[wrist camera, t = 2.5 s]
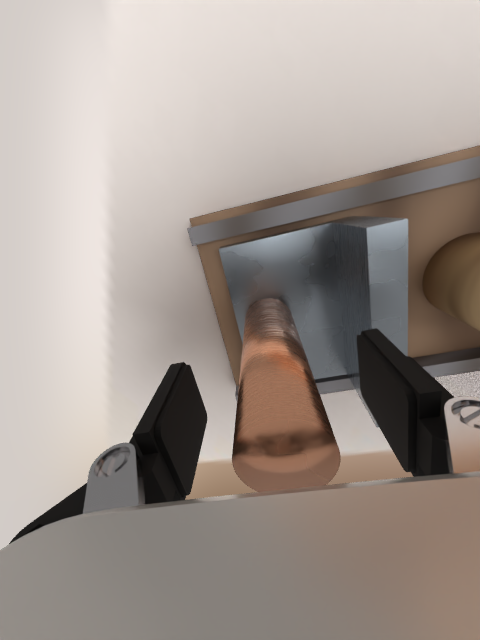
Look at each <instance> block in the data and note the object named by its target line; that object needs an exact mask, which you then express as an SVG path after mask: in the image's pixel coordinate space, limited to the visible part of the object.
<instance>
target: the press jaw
mask: <svg viewBox="0 0 480 640" xmlns="http://www.w3.org/2000/svg"><path fill="white" fill-rule="evenodd" d="M219 253H220V257H221V261H222V265H223V269H224V273H225V277H226V281H227V285H228V289H229V293H230V296H231V300H232V304H233V308H234V312H235V316H236V320H237V324H238V328H239V332H240V336H241V340H242V344H243V347H242V358H241V368H240V379H239V390H238V400H237V411H236V422H235V432H234V443H233V454H232V463H233V467H234V470H235V472H236V474H237V475H238V477H239V478H240V479H241V480H242V481H243V482H244V483H245V484H246V485H247V486H249V487H250V488H252V489H254V490H255V491H258V492H265V491H275V490H285V489H295V488H304V487H314V486H324V485H326V484H328V483H329V482H330V481H331V480H332V479H333V477H334V476H335V475H336V473H337V471H338V468H339V466H340V452H339V448H338V445H337V442H336V440H335V437H334V434H333V431H332V428H331V425H330V422H329V420H328V417H327V414H326V411H325V408H324V405H323V402H322V400H321V397H320V394H319V391H318V388H317V385H316V382H315V380H314V379H320V378H327V377H333V376H339V375H346V374H347V375H348V377H349V379H350V381H351V382H352V384H353V386H354V388H355V389H356V391H357V393H358V395H359V397H360V398H361V400H362V402H363V404H364V406H365V407H366V409H367V411H368V413H369V414H370V416H371V418H372V420H373V422H374V423H375V425H376V427H379V426H378V424H377V422H376V420H375V419H374V417H373V415H372V413H371V412H370V410H369V408H368V406H367V405H366V403H365V401H364V399H363V397H362V395H361V390H360V378H359V365H358V352H357V335H361V331H364V330H369V329H375V328H377V329H378V330H380V331H381V332H382V333H383V334H384V335H385V336H386V337H387V338H388V339H389V340H390V341H391V342H392V343H393V344H394V345H395V346H396V347H397V348H398V349H399V350H400V351H401V352H402V353H403V354H404V355H405V356H408V219H406V218H387V217H369V216H350V217H346V218H341V219H337V220H333V221H328V222H324V223H320V224H316V225H311V226H307V227H303V228H299V229H294V230H290V231H286V232H281V233H277V234H273V235H269V236H264V237H260V238H256V239H251V240H247V241H243V242H239V243H234V244H230V245H226V246H221V247H220V248H219Z"/></svg>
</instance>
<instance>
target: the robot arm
mask: <svg viewBox="0 0 480 640" xmlns="http://www.w3.org/2000/svg"><path fill="white" fill-rule="evenodd" d="M357 352H358V365H359V378H360V390H361V395H362V397H363V399H364V401H365V403H366V405H367V406H368V408H369V410H370V412H371V413H372V415H373V417H374V419H375V420H376V422H377V424H378V426H379V427H380V429H381V431H382V433H383V434H384V436H385V438H386V440H387V441H388V443H389V445H390V447H391V448H392V450H393V452H394V454H395V455H396V457H397V459H398V460H399V462H400V464H401V466H402V467H403V469H404V470H405V471H406V472H411V473H412V475H413V476H414V477H406V478H396V479H386V480H376V481H365V482H355V483H345V484H335V485H324V486H314V487H304V488H295V489H285V490H275V491H265V492H256V493H246V494H237V495H228V496H218V497H209V498H200V499H191V500H185V498H186V495H189V494H190V492H191V488H192V484H193V480H194V476H195V471H196V467H197V462H198V458H199V454H200V449H201V445H202V441H203V436H204V432H205V428H206V423H207V413H206V410H205V407H204V404H203V401H202V398H201V395H200V392H199V389H198V387H197V384H196V381H195V378H194V375H193V372H192V369H191V367H190V365H186V364H185V363H184V362H182V363H177V364H171V365H170V367H169V369H168V371H167V373H166V374H165V376H164V378H163V380H162V382H161V384H160V385H159V387H158V389H157V391H156V393H155V395H154V396H153V398H152V400H151V402H150V404H149V406H148V407H147V409H146V411H145V413H144V415H143V416H142V418H141V420H140V422H139V424H138V426H137V427H136V429H135V431H134V433H133V437H132V438H131V440H130V442H129V443H120V444H117V445H114V446H112V447H111V448H109V449H107V450H106V451H104V452H103V453H102V454H101V455H100V456H99V457H98V458H97V459H96V460H95V461H94V463H93V464H92V466H91V468H90V471H89V476H88V482H87V483H86V484H85V485H83V486H82V487H80V488H79V489H78V490H76V491H75V492H73V493H72V494H71V495H69V496H68V497H66V498H65V499H64V500H62V501H61V502H60V503H58V504H57V505H55V506H54V507H52V508H51V509H50V510H48V511H47V512H45V513H44V514H43V515H41V516H40V517H38V518H37V519H36V520H34V521H33V522H31V523H30V524H29V525H27V526H26V527H25V528H24V529H22V530H21V531H20V532H19V533H18V534H17V535H16V537H14V538H13V539H12V541H11V542H10V543H9V545H7V546H6V547H4V548H3V549H1V550H0V640H480V398H478V397H472V396H461V397H453V396H452V395H451V394H450V393H449V392H448V391H447V390H446V389H445V388H444V387H443V386H442V385H441V384H440V383H439V382H437V381H436V380H435V379H434V378H433V377H432V376H431V375H430V374H429V373H428V372H427V371H426V370H425V369H424V368H423V367H422V366H420V365H419V364H418V363H417V362H416V361H415V360H414V359H413V358H412V357H410V356H405V355H404V354H403V353H402V352H401V351H400V350H399V349H398V348H397V347H396V346H395V345H394V344H393V343H392V342H391V341H390V340H389V339H388V338H387V337H386V336H385V335H384V334H383V333H382V332H381V331H380V330H378V329H377V328H375V329H369V330H364V331H361V335H357Z"/></svg>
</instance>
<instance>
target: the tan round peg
mask: <svg viewBox="0 0 480 640" xmlns="http://www.w3.org/2000/svg"><path fill="white" fill-rule="evenodd" d="M422 283H423V291H424V294H425V297H426V298H427V300H428V301H429V302H430V303H431V304H432V305H433V306H434V307H436V308H438V309H440V310H442V311H443V312H445V313H447V314H449V315H451V316H453V317H455V318H456V319H458V320H460V321H462V322H464V323H466V324H468V325H469V326H471V327H473V328H475V329H477V330H479V331H480V232H476V233H468V234H465V235H462V236H459V237H457V238H455V239H453V240H451V241H449V242H448V243H446V244H445V245H444V246H442V247H441V248H440V249H439V250H438V251H437V252H436V253H435V254H434V255H433V257H432V258H431V260H430V261H429V263H428V265H427V267H426V269H425V272H424V275H423V282H422Z"/></svg>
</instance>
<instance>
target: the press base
mask: <svg viewBox="0 0 480 640" xmlns="http://www.w3.org/2000/svg"><path fill="white" fill-rule="evenodd" d="M350 216H369V217H387V218H406V219H408V356H410V357H412V358H413V359H414V360H415V361H416V362H417V363H418V364H419V365H420V366H422V367H423V368H424V369H425V370H426V371H427V372H428V373H429V374H430V375H431V376H432V377H440V376H447V375H454V374H460V373H467V372H474V371H480V331H479V330H477V329H475V328H473V327H471V326H469V325H468V324H466V323H464V322H462V321H460V320H458V319H456V318H455V317H453V316H451V315H449V314H447V313H445V312H443V311H442V310H440V309H438V308H436V307H434V306H433V305H432V304H431V303H430V302H429V301H428V300H427V298H426V297H425V294H424V291H423V283H422V282H423V275H424V272H425V269H426V267H427V265H428V263H429V261H430V260H431V258H432V257H433V255H434V254H435V253H436V252H437V251H438V250H439V249H440V248H441V247H442V246H444V245H445V244H446V243H448V242H449V241H451V240H453V239H455V238H457V237H459V236H462V235H465V234H468V233H476V232H480V146H476V147H472V148H468V149H464V150H460V151H456V152H452V153H448V154H444V155H440V156H436V157H432V158H428V159H424V160H420V161H416V162H412V163H408V164H404V165H401V166H397V167H393V168H389V169H385V170H381V171H377V172H373V173H369V174H365V175H361V176H357V177H353V178H349V179H345V180H341V181H337V182H333V183H329V184H325V185H321V186H317V187H313V188H309V189H305V190H302V191H298V192H294V193H290V194H286V195H282V196H278V197H274V198H270V199H266V200H262V201H258V202H254V203H250V204H246V205H242V206H238V207H234V208H230V209H226V210H222V211H218V212H214V213H210V214H206V215H202V216H199V217H195V218H191V219H190V222H191V226H192V227H191V228H187V229H188V233H189V236H190V240H191V243H192V246H194V245H197V247H198V251H199V254H200V258H201V262H202V265H203V269H204V272H205V276H206V279H207V283H208V286H209V290H210V294H211V297H212V301H213V304H214V308H215V311H216V315H217V318H218V322H219V325H220V329H221V333H222V336H223V340H224V343H225V347H226V350H227V354H228V357H229V361H230V365H231V368H232V372H233V375H234V379H235V382H236V395H235V396H236V400H238V390H239V379H240V368H241V358H242V347H243V344H242V340H241V336H240V332H239V328H238V324H237V320H236V316H235V312H234V308H233V304H232V300H231V296H230V293H229V289H228V285H227V281H226V277H225V273H224V269H223V265H222V261H221V257H220V253H219V248H220V247H221V246H226V245H230V244H234V243H239V242H243V241H247V240H251V239H256V238H260V237H264V236H269V235H273V234H277V233H281V232H286V231H290V230H294V229H299V228H303V227H307V226H311V225H316V224H320V223H324V222H328V221H333V220H337V219H341V218H346V217H350ZM314 380H315V382H316V385H317V388H318V391H319V394H326V393H332V392H339V391H346V390H353V389H355V388H354V386H353V384H352V382H351V381H350V379H349V377H348V375H347V374H346V375H339V376H333V377H327V378H320V379H314Z"/></svg>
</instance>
